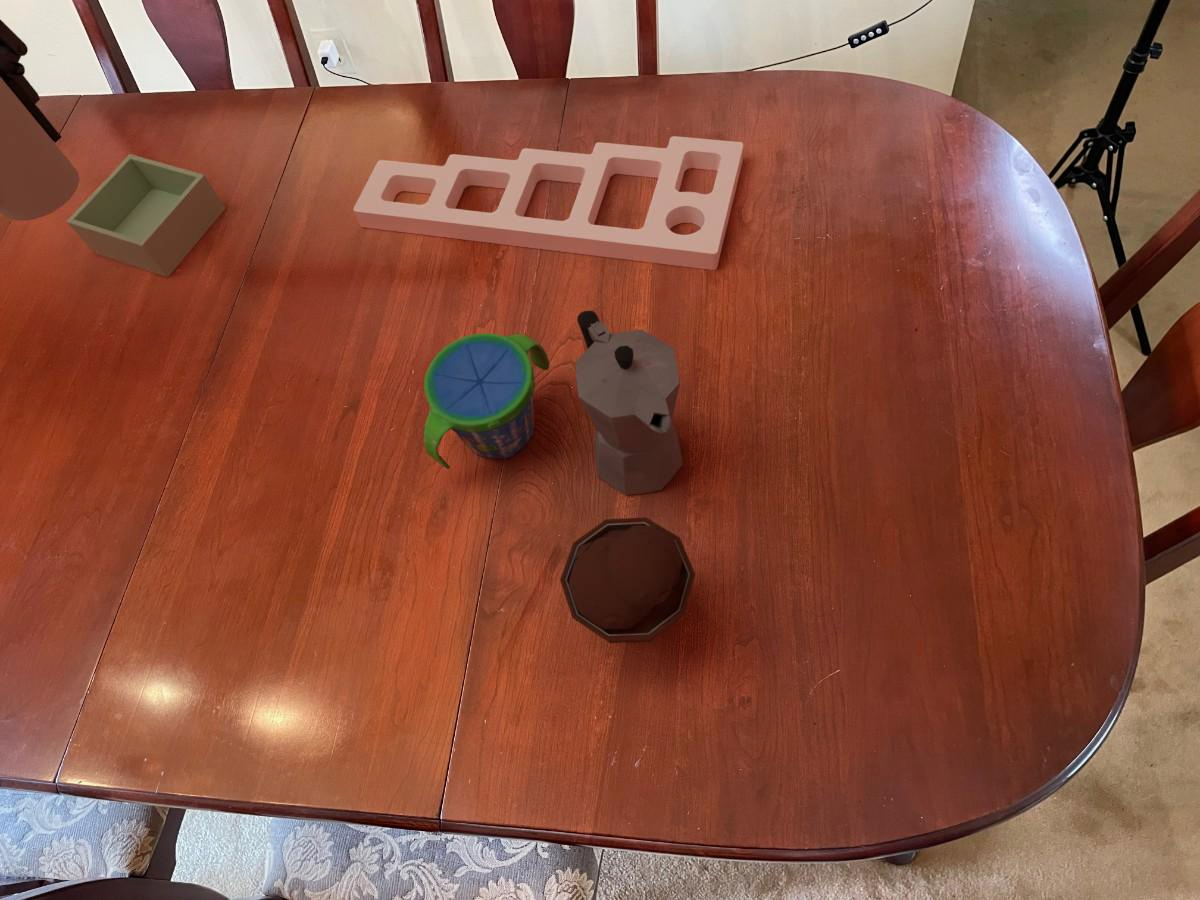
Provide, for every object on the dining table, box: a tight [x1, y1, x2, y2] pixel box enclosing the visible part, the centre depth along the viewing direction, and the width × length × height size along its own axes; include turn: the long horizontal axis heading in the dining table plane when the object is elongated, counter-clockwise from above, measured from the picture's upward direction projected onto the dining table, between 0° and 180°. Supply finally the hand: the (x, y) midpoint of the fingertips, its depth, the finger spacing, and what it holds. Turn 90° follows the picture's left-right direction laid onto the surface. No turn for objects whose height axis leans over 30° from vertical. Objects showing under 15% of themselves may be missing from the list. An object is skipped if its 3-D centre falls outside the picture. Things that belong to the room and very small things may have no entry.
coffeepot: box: [574, 310, 684, 496], centre depth 79 cm, size 15×9×18 cm, turn 28°
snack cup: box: [423, 332, 551, 470], centre depth 85 cm, size 16×10×10 cm
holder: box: [352, 135, 744, 271], centre depth 104 cm, size 45×18×3 cm, turn 76°
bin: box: [66, 153, 227, 278], centre depth 107 cm, size 12×12×6 cm
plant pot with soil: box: [559, 517, 696, 644], centre depth 71 cm, size 11×11×15 cm
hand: (17, 166), depth 80 cm, fingers closed on travel mug, 8 cm apart
